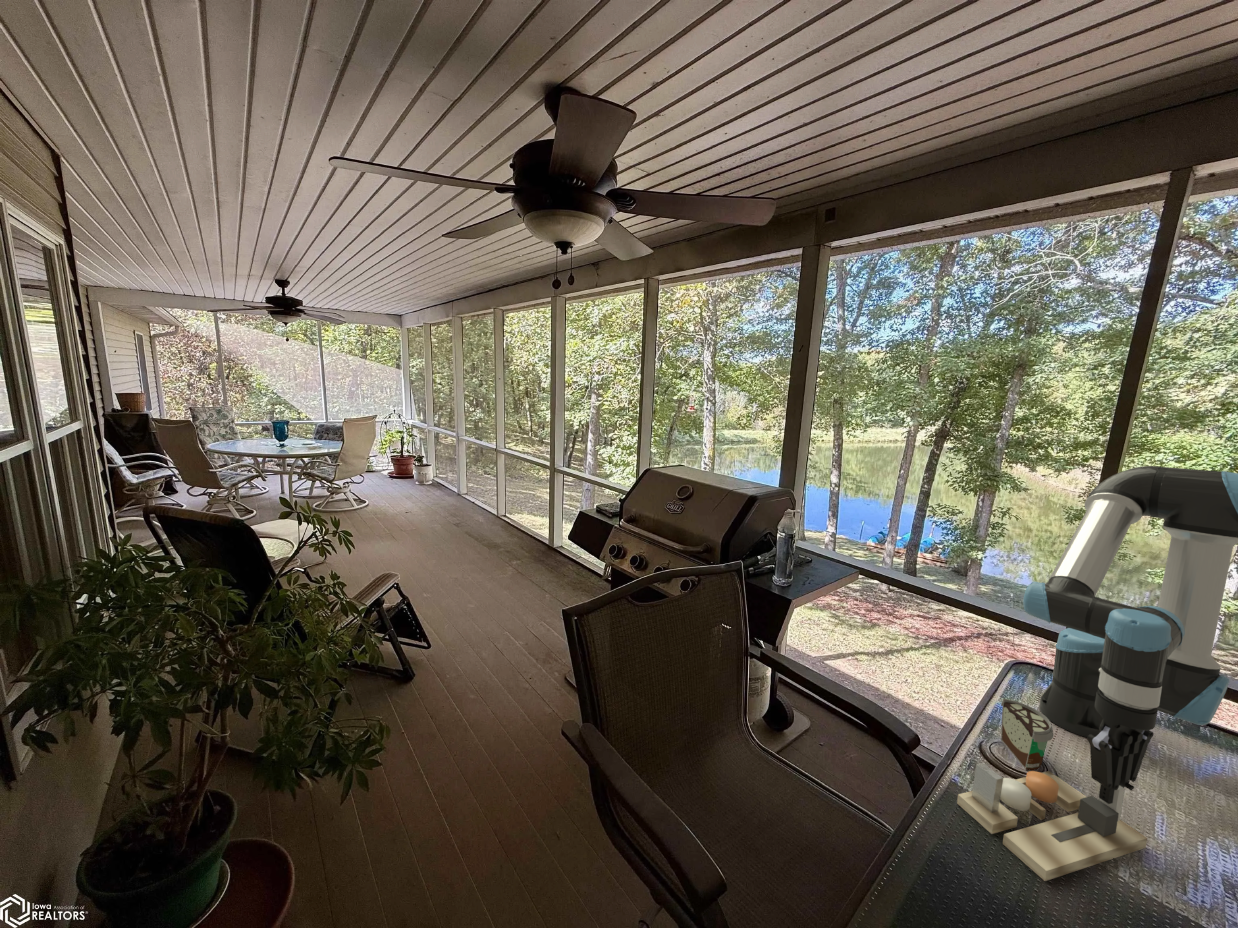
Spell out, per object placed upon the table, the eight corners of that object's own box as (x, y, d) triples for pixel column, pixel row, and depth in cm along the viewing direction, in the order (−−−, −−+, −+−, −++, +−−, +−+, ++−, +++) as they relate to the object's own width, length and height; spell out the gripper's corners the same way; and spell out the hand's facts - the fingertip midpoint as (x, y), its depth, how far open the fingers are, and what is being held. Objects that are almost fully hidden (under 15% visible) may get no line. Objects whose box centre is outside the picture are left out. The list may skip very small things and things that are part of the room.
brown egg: (1036, 781, 98) (1038, 768, 98) (1063, 800, 94) (1065, 787, 93) (1018, 785, 97) (1020, 773, 97) (1044, 805, 93) (1046, 792, 92)
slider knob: (1089, 814, 91) (1092, 795, 90) (1115, 832, 87) (1118, 813, 86) (1077, 817, 90) (1080, 798, 89) (1103, 836, 86) (1106, 816, 86)
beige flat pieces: (1047, 779, 102) (1048, 770, 101) (1145, 847, 86) (1147, 837, 86) (957, 803, 96) (958, 793, 96) (1044, 880, 80) (1046, 870, 80)
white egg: (1010, 788, 97) (1012, 775, 96) (1036, 807, 92) (1038, 794, 92) (991, 792, 96) (993, 780, 95) (1017, 813, 91) (1018, 799, 91)
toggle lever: (977, 794, 96) (982, 762, 95) (997, 811, 92) (1003, 778, 91) (971, 795, 95) (976, 763, 94) (991, 812, 91) (996, 779, 90)
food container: (1063, 779, 102) (1069, 736, 100) (1029, 775, 103) (1035, 732, 101) (1026, 739, 114) (1031, 700, 112) (997, 735, 115) (1001, 697, 113)
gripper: (1126, 680, 91) (1108, 791, 94) (1075, 690, 87) (1058, 805, 91) (1180, 704, 83) (1159, 824, 87) (1127, 717, 80) (1107, 841, 83)
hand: (1107, 814), depth 89 cm, fingers closed
